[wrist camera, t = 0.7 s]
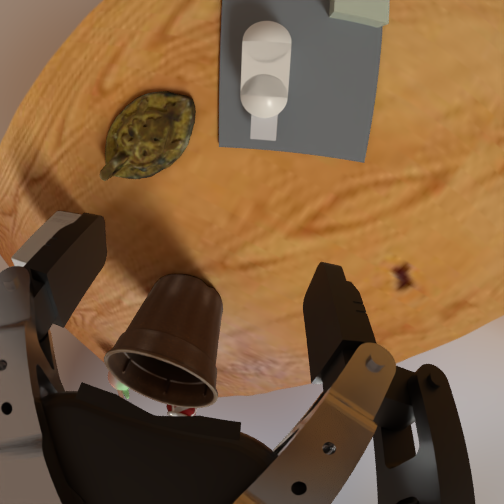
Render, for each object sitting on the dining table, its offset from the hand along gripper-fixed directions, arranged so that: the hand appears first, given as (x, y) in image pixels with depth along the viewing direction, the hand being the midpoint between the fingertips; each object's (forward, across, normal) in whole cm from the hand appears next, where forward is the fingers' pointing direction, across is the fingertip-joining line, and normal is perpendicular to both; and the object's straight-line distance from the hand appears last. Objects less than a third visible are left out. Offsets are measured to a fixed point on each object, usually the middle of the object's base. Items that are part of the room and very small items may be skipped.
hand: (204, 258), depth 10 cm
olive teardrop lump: (+25, +12, +2) cm, 27 cm away
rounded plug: (+22, -1, -7) cm, 23 cm away
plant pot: (+26, +4, +28) cm, 38 cm away
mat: (+22, -3, -11) cm, 25 cm away
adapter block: (+20, -7, -18) cm, 28 cm away
